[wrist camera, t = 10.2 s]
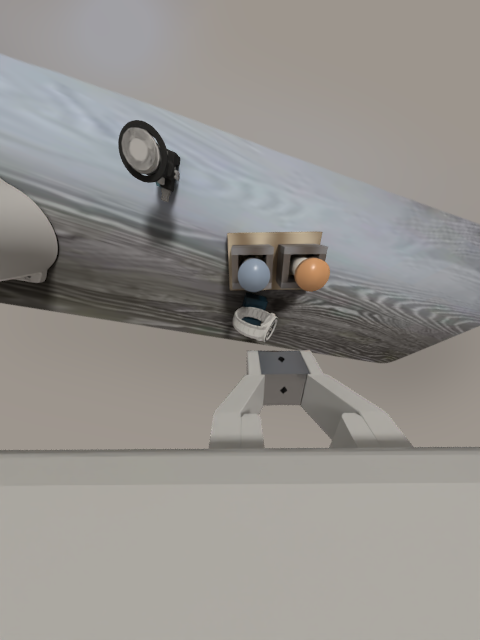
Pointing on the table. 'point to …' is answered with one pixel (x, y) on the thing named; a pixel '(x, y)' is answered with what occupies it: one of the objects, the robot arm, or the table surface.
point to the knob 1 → (253, 274)
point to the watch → (254, 318)
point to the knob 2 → (309, 272)
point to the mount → (273, 254)
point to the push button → (148, 156)
